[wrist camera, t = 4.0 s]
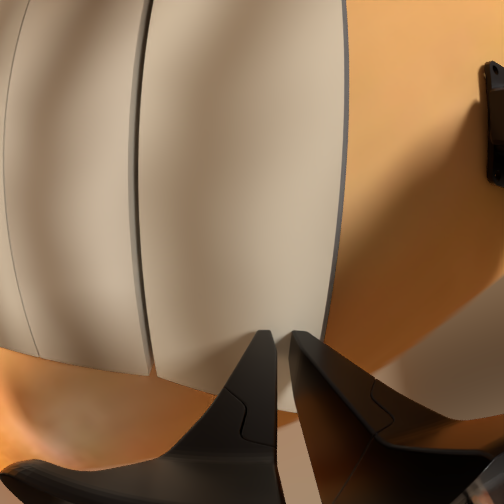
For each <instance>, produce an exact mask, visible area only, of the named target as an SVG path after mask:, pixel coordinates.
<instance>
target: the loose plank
mask: <svg viewBox="0 0 504 504" xmlns="http://www.w3.org/2000/svg"><path fill="white" fill-rule="evenodd" d="M343 123H344V39H343V17H342V1H341V0H154V1H153V7H152V12H151V18H150V24H149V31H148V38H147V45H146V53H145V61H144V70H143V81H142V92H141V106H140V124H139V156H138V190H139V223H140V241H141V256H142V268H143V279H144V289H145V298H146V307H147V315H148V322H149V329H150V336H151V343H152V349H153V355H154V361H155V367H156V372H157V377H160V378H163V379H166V380H168V381H171V382H174V383H177V384H181V385H184V386H187V387H190V388H193V389H197V390H200V391H203V392H207V393H210V394H214V395H218V394H219V393H220V391H221V389H222V388H223V386H224V385H225V383H226V382H227V380H228V378H229V377H230V375H231V373H232V372H233V370H234V368H235V367H236V365H237V364H238V362H239V360H240V359H241V357H242V355H243V354H244V352H245V350H246V349H247V347H248V345H249V343H250V342H251V340H252V338H253V337H254V335H255V333H256V332H257V330H270V331H271V332H272V336H273V339H274V342H275V345H276V349H277V410H282V411H288V412H293V413H297V410H296V406H295V402H294V398H293V392H292V384H291V376H290V369H289V361H288V356H289V348H290V341H291V333H292V331H293V330H299V331H307V332H309V333H310V334H312V335H313V336H315V337H316V338H317V339H319V340H320V336H321V331H322V325H323V319H324V313H325V307H326V301H327V294H328V288H329V281H330V274H331V266H332V258H333V250H334V242H335V233H336V224H337V214H338V203H339V192H340V179H341V164H342V147H343Z"/></svg>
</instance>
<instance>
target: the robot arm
mask: <svg viewBox="0 0 504 504" xmlns="http://www.w3.org/2000/svg"><path fill="white" fill-rule="evenodd" d="M485 75H486V85H487V98H488V127H489V136H488V165H487V178H488V181H489V183H491V184H492V185H496V186H499V187H503V188H504V67H502V66H501V65H499V64H497V63H496V62H494V61H490V62H486V63H485ZM495 174H496V176H495ZM288 361H289V369H290V376H291V384H292V392H293V398H294V402H295V406H296V410H297V413H298V417H299V421H300V424H301V428H302V431H303V435H304V439H305V443H306V446H307V450H308V453H309V457H310V461H311V465H312V468H313V472H314V476H315V479H316V483H317V487H318V490H319V494H320V498H321V502H322V504H504V414H500V415H495V416H490V417H484V418H479V419H472V420H455V419H450V418H448V417H445V416H443V415H441V414H439V413H437V412H435V411H433V410H431V409H429V408H427V407H425V406H423V405H421V404H419V403H417V402H415V401H413V400H411V399H409V398H407V397H406V396H404V395H402V394H400V393H398V392H396V391H395V390H393V389H392V388H390V387H388V386H387V385H385V384H384V383H382V382H381V381H379V380H378V379H375V377H373V376H372V375H370V374H369V373H367V372H366V371H364V370H363V369H361V368H360V367H358V366H357V365H355V364H354V363H352V362H351V361H349V360H348V359H346V358H345V357H344V356H342V355H341V354H339V353H338V352H336V351H335V350H333V349H332V348H330V347H329V346H328V345H326V344H325V343H323V342H322V341H320V340H319V339H317V338H316V337H315V336H313V335H312V334H310V333H309V332H307V331H299V330H293V331H292V333H291V341H290V348H289V356H288ZM0 480H1V481H2V482H3V484H4V485H5V486H6V487H7V488H8V489H9V490H10V491H11V492H12V493H13V494H14V495H15V496H16V497H17V498H18V499H19V500H20V501H22V502H23V503H24V504H286V502H285V498H284V494H283V489H282V485H281V481H280V476H279V472H278V468H277V349H276V345H275V342H274V339H273V336H272V332H271V331H270V330H257V332H256V333H255V335H254V337H253V338H252V340H251V342H250V343H249V345H248V347H247V349H246V350H245V352H244V354H243V355H242V357H241V359H240V360H239V362H238V364H237V365H236V367H235V368H234V370H233V372H232V373H231V375H230V377H229V378H228V380H227V382H226V383H225V385H224V386H223V388H222V389H221V391H220V393H219V394H218V396H217V397H216V399H215V400H214V402H213V403H212V404H211V406H210V407H209V408H208V410H207V411H206V412H205V413H204V414H203V416H202V417H201V418H200V419H199V420H198V421H197V422H196V423H195V424H194V425H193V426H192V428H191V429H190V430H189V431H188V432H187V433H186V434H185V435H184V436H183V437H182V438H181V439H180V440H179V441H178V442H177V443H176V444H175V445H174V446H173V447H172V448H171V449H170V450H169V451H168V452H166V453H165V454H163V455H162V456H160V457H158V458H156V459H153V460H149V461H145V462H140V463H136V464H131V465H127V466H122V467H117V468H112V469H106V470H100V471H76V470H70V469H66V468H63V467H60V466H57V465H54V464H52V463H49V462H46V461H43V460H38V459H32V460H26V461H20V462H16V463H13V464H11V465H9V466H7V467H6V468H4V469H3V470H2V471H1V472H0Z"/></svg>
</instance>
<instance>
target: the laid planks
mask: <svg viewBox="0 0 504 504" xmlns="http://www.w3.org/2000/svg"><path fill="white" fill-rule="evenodd" d="M153 1H154V0H0V347H2V348H6V349H9V350H13V351H16V352H20V353H24V354H28V355H31V356H35V357H41V358H44V359H48V360H52V361H57V362H62V363H66V364H71V365H77V366H82V367H87V368H93V369H99V370H106V371H112V372H119V373H127V374H135V375H143V376H149V375H150V372H151V369H152V366H153V363H154V355H153V349H152V343H151V336H150V329H149V322H148V315H147V307H146V298H145V289H144V279H143V268H142V256H141V241H140V223H139V190H138V156H139V124H140V106H141V92H142V81H143V70H144V61H145V53H146V45H147V38H148V31H149V24H150V18H151V12H152V7H153Z"/></svg>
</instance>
